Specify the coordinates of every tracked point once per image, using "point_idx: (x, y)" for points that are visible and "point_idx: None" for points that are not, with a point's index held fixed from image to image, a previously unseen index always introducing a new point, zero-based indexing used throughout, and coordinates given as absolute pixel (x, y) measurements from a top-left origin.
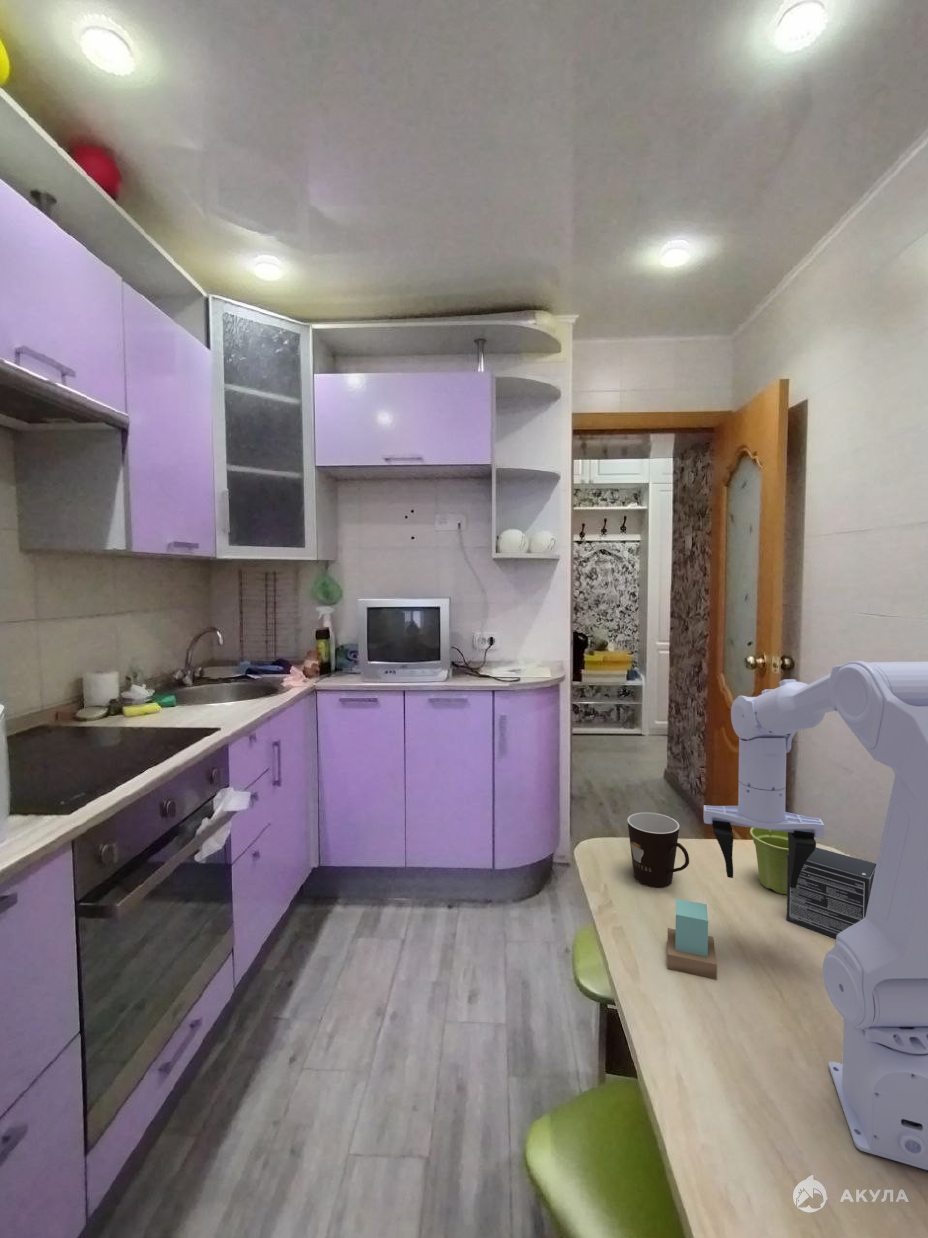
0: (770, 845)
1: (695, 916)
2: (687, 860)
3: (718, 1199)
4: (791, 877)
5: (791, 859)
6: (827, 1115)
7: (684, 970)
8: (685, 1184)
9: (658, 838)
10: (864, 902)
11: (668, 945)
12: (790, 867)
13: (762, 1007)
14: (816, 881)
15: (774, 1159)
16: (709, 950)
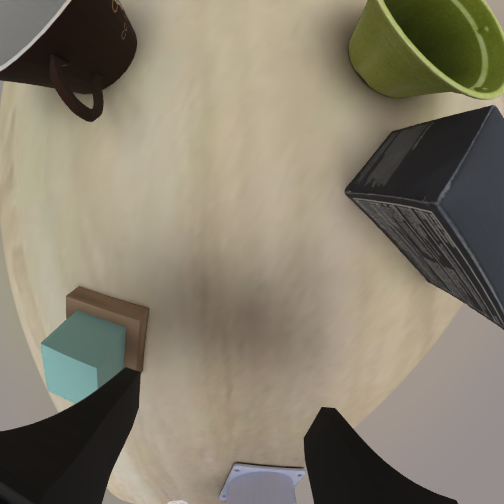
0: (412, 51)
1: (77, 401)
2: (86, 120)
3: (128, 497)
4: (308, 466)
5: (331, 492)
6: (210, 484)
7: None
8: (111, 491)
9: (7, 75)
10: (478, 311)
11: None
12: (325, 466)
13: (193, 411)
14: (445, 256)
15: (162, 494)
16: (127, 357)
